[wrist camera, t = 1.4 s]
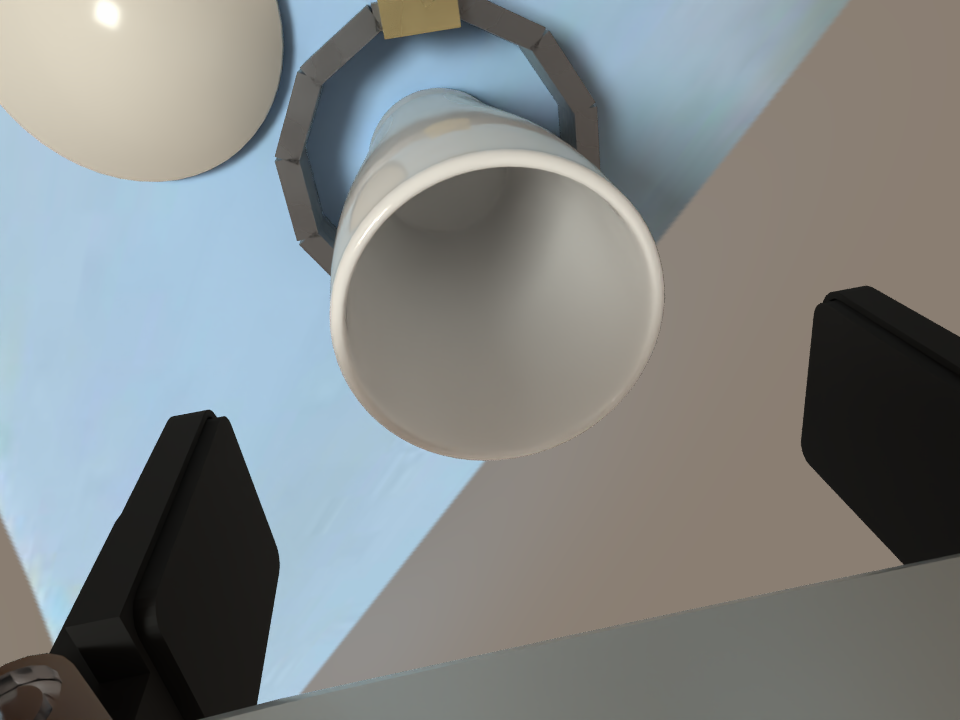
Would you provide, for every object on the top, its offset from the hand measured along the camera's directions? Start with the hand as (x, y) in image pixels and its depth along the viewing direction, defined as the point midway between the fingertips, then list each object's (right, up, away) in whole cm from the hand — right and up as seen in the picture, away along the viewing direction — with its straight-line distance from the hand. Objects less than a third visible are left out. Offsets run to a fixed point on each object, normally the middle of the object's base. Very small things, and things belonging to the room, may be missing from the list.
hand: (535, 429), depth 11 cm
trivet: (-13, +12, +12) cm, 21 cm away
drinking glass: (-2, +9, +16) cm, 18 cm away
